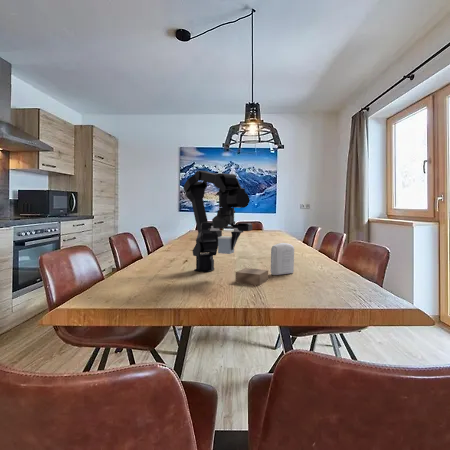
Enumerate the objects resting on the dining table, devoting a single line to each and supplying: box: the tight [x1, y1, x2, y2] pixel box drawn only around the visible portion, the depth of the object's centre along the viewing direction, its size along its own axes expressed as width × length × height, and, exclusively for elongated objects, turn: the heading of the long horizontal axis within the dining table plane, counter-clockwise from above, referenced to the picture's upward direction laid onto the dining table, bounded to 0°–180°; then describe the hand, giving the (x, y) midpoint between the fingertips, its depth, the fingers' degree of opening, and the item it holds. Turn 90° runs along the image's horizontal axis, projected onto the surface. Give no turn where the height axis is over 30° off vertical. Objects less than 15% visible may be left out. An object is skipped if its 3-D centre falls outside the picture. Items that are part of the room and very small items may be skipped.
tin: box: [217, 235, 235, 255], centre depth 126 cm, size 5×5×6 cm
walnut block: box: [235, 267, 269, 286], centre depth 121 cm, size 9×9×4 cm
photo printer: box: [270, 242, 295, 276], centre depth 135 cm, size 10×4×12 cm, turn 123°
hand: (226, 249), depth 127 cm, fingers closed on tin, 5 cm apart
